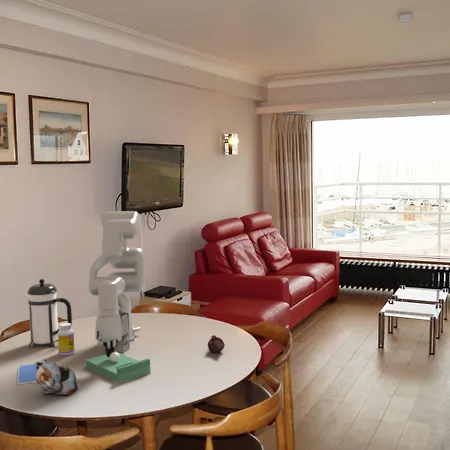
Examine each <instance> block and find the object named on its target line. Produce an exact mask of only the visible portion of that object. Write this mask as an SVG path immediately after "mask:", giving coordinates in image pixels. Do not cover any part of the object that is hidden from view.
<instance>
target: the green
mask: <svg viewBox="0 0 450 450" xmlns="http://www.w3.org/2000/svg"><path fill="white" fill-rule="evenodd" d="M115 352H116V351H115ZM117 353H118V354H119V355H120V359H119V361H117V362H112V361H111V360H110V358H109V357H107V356H106V353H104V354H101V355H98V356H95V357H94V356H93V357H91V358H87V359H85V368H87V369H88V370H91V371H93V372H95V373H97V374H99V375H102V376H103V377H106V378H108V379H110V380H113V381H115V382H117V383H119V384H121V383H124V382H126V381H130V380H133V379H135V378H136V379H137V378H140V377H142V376H145V375H148V374H151V361H150V360H151V359H149V358H144V359H141V360H137V359H136V358H133V357H130V356H128V355H125V354H122V353H121V352H117Z"/></svg>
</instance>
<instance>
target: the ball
mask: <svg viewBox="0 0 450 450" xmlns="http://www.w3.org/2000/svg"><path fill="white" fill-rule="evenodd" d="M118 353H119V352H118ZM118 353H117V352H113V353H111V354H110V360H111V361H112V362H117V361H119V359H120V355H119V354H118Z"/></svg>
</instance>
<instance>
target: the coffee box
mask: <svg viewBox="0 0 450 450" xmlns="http://www.w3.org/2000/svg"><path fill="white" fill-rule="evenodd" d="M118 313H119V314H120V318H121V323H122V339H121V340H120V341H118V342H117V343H116V346H115V347H114V352H115V351H116V352H118V353H125V352H127V351H128V350H130V349H131V341H130V338H129V313H123V312H118ZM104 348H105V349H106V347H104Z"/></svg>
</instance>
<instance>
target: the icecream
mask: <svg viewBox="0 0 450 450" xmlns="http://www.w3.org/2000/svg"><path fill="white" fill-rule="evenodd" d="M225 345H226V344H225V343H224V340H223V338H220V337H219V336H217V335H215V334H213V335H212V336H211V337H210V339H208V342H207V347H208V348H207V349H208V350H209V352H212V353H213V354H219V353H221V352H222V351H223V350H224V348H225Z"/></svg>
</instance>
